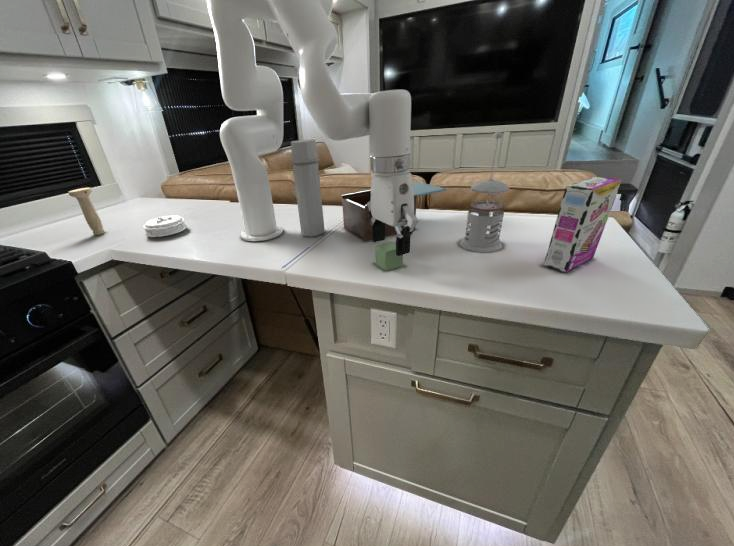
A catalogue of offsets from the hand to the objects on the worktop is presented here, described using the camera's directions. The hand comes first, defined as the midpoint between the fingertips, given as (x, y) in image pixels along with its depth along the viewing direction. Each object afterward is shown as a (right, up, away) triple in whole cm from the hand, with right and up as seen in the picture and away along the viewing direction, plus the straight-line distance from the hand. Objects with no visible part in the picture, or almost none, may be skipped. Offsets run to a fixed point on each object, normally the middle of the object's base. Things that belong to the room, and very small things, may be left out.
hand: (390, 247), depth 73 cm
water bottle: (-19, +8, +26) cm, 33 cm away
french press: (+24, +2, +9) cm, 26 cm away
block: (0, -4, +2) cm, 4 cm away
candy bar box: (+37, -4, -3) cm, 38 cm away
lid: (-68, +11, +37) cm, 78 cm away
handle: (-94, +11, +42) cm, 104 cm away
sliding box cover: (+10, +20, +23) cm, 32 cm away
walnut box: (+1, +9, +24) cm, 26 cm away
